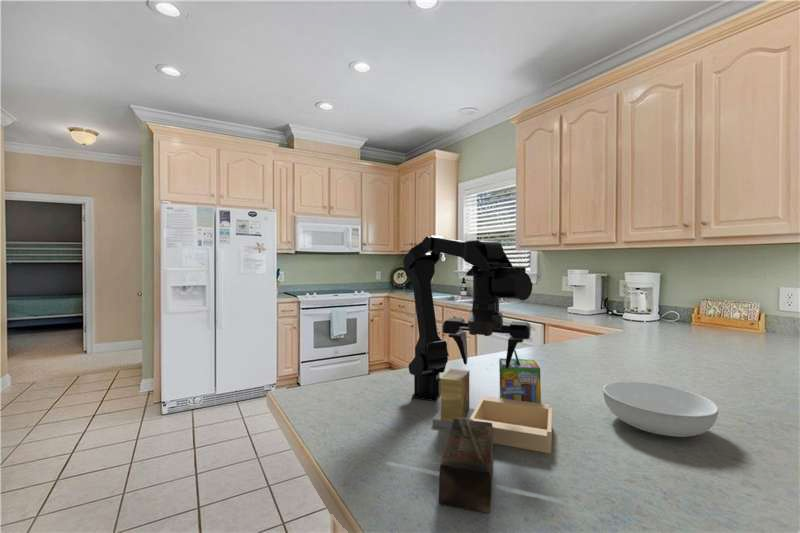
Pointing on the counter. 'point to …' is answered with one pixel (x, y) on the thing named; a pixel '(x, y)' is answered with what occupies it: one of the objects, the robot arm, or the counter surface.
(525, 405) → the wooden tray
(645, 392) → the serving bowl
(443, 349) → the robot arm
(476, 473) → the beverage carton
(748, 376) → the counter surface
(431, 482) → the counter surface
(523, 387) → the chalk box
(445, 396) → the brown wooden block
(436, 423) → the trivet
